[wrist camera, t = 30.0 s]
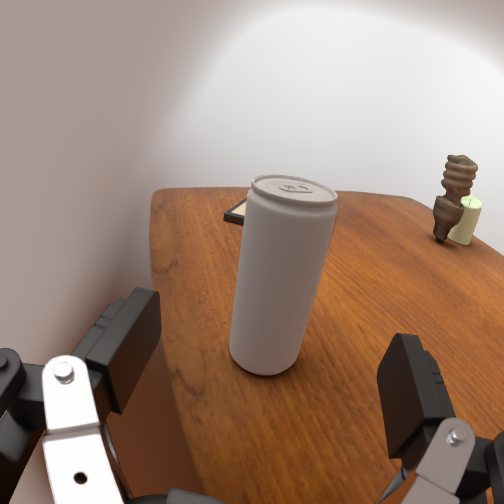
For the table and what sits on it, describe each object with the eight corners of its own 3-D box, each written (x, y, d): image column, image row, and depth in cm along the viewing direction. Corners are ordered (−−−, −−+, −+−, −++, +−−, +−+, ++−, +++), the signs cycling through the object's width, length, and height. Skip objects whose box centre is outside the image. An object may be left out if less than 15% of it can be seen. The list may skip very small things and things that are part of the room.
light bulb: (458, 249, 46) (485, 163, 39) (441, 250, 44) (469, 158, 37) (436, 234, 50) (459, 152, 43) (417, 234, 48) (441, 147, 41)
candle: (464, 247, 47) (480, 203, 43) (442, 235, 50) (455, 192, 47) (471, 243, 50) (485, 202, 46) (450, 231, 53) (463, 191, 49)
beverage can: (220, 335, 23) (237, 172, 18) (280, 328, 25) (313, 176, 19) (240, 385, 19) (269, 201, 14) (307, 372, 21) (358, 204, 15)
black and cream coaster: (223, 220, 43) (224, 211, 42) (256, 196, 54) (257, 189, 53) (320, 246, 39) (322, 237, 39) (333, 215, 50) (335, 208, 50)
